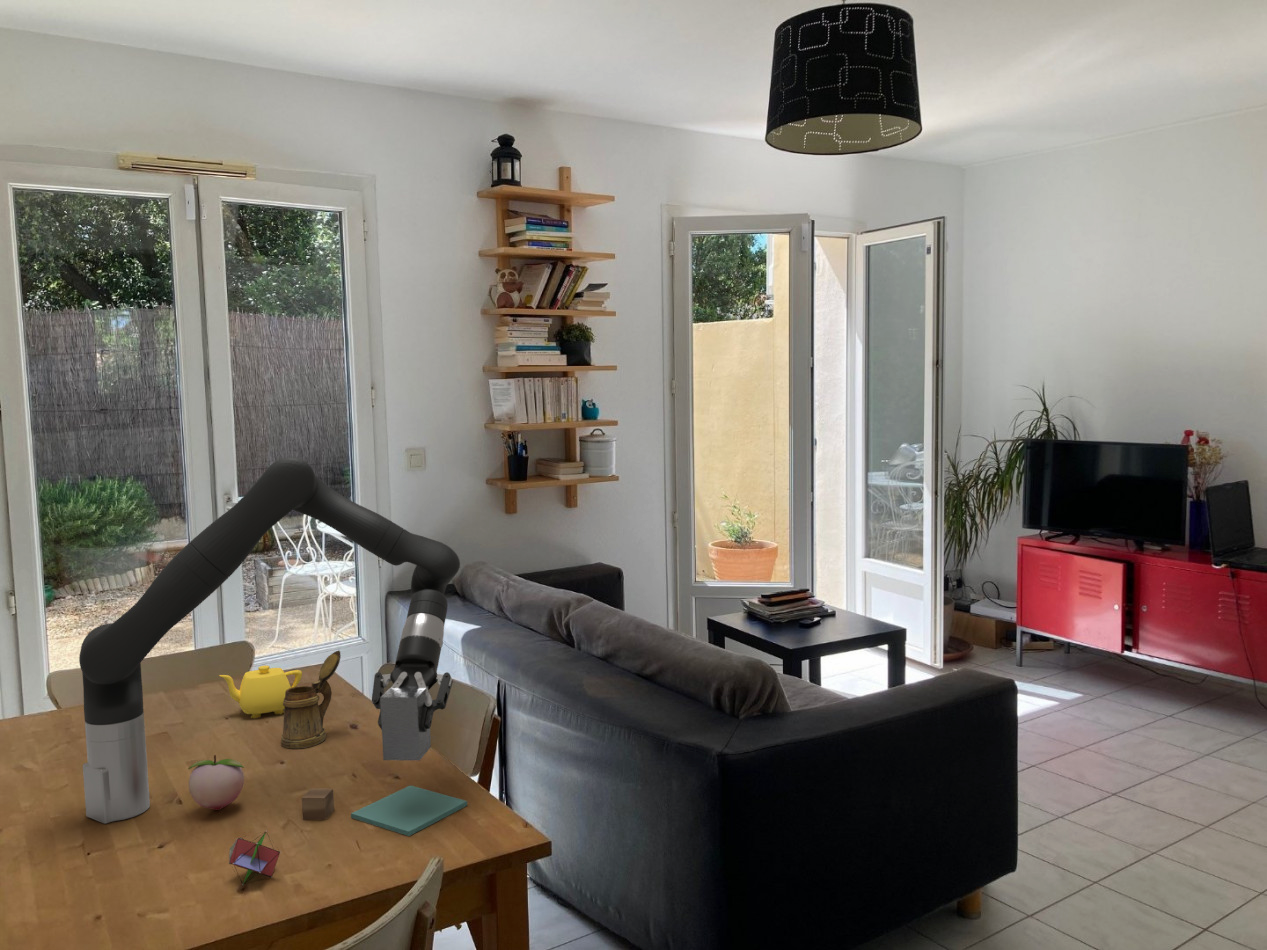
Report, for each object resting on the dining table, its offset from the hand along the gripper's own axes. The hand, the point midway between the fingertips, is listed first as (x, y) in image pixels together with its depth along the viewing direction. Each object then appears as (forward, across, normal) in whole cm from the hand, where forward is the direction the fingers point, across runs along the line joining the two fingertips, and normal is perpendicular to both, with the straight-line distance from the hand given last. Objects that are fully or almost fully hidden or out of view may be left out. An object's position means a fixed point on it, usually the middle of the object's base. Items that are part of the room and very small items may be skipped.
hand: (403, 729), depth 171 cm
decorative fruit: (+10, -34, +11) cm, 38 cm away
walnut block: (+11, -16, +11) cm, 22 cm away
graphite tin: (+2, 0, +5) cm, 5 cm away
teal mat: (+10, 0, +12) cm, 15 cm away
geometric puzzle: (+27, -16, -5) cm, 32 cm away
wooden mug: (-15, -32, +37) cm, 51 cm away
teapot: (-27, -52, +49) cm, 76 cm away
